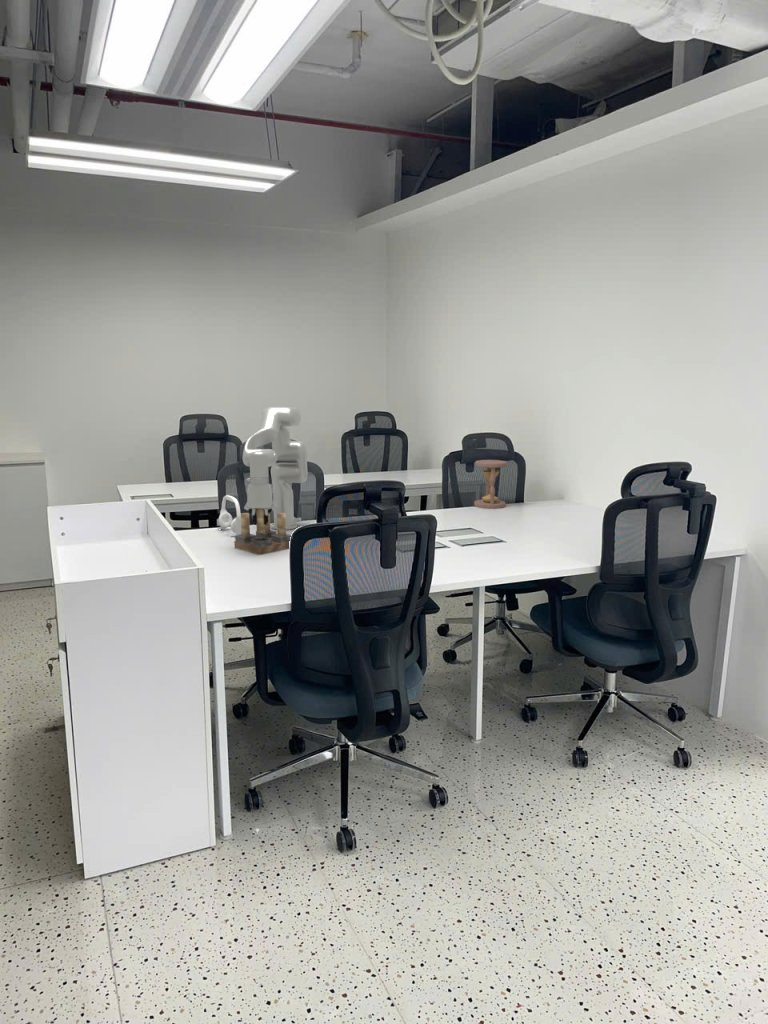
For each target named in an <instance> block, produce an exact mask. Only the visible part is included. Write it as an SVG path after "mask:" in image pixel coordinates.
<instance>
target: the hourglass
mask: <svg viewBox="0 0 768 1024" xmlns="http://www.w3.org/2000/svg"><path fill="white" fill-rule="evenodd" d="M474 465H475V467H479V468H486V469H484V470H482V474H483V476H484V477H485V479H486V485H485V496H482V497H481V499H477V500H474V501H473V502H474V507H476V508H479V509H489V510H490V509H493V510H494V509H502V508H503V509H504V508H505V507H506V501H504V500H500V499H499V497H497V496H495V495H496V489H495V483H496V479H497V476H498V475H499V474H500V470H496V468H498V469H499V468H505V467H507V466H508V462H507V460H506V461H505V460H499V459H480V460H476V461H475V463H474Z"/></svg>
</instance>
